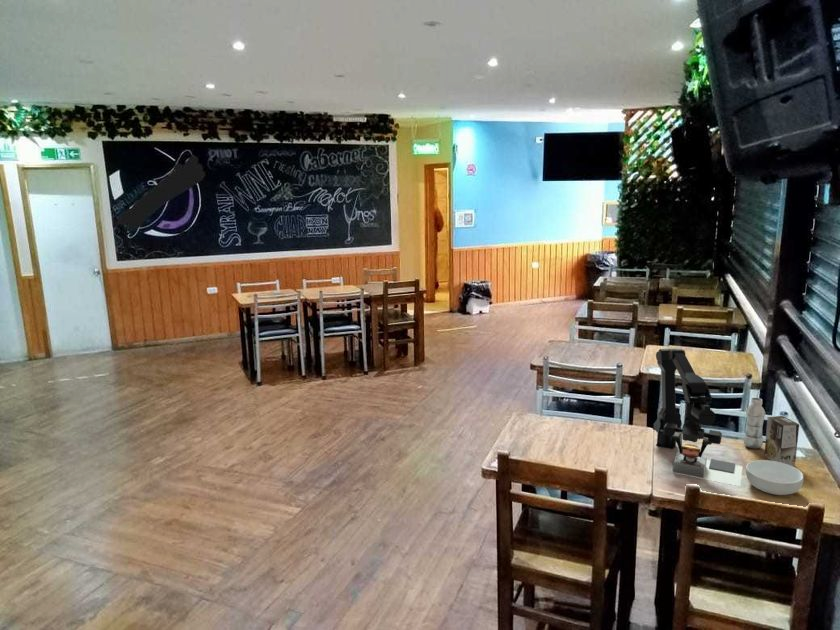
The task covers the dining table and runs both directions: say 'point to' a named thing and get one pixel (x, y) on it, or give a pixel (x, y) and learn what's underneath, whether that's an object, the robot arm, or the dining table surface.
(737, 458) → the dining table surface
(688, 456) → the copper disc with stripe
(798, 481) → the cereal bowl
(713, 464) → the pad
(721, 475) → the board
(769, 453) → the coffee box
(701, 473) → the metal block
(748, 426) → the plastic bottle
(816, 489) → the dining table surface
